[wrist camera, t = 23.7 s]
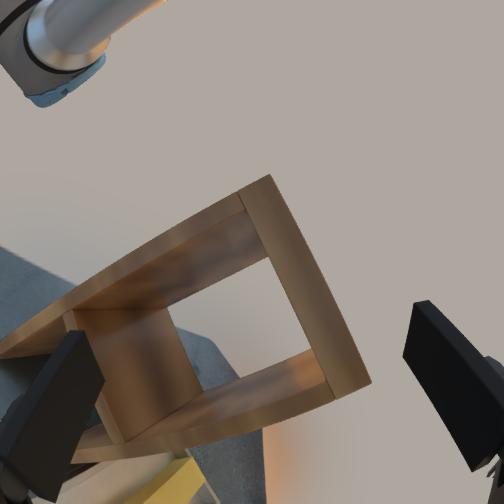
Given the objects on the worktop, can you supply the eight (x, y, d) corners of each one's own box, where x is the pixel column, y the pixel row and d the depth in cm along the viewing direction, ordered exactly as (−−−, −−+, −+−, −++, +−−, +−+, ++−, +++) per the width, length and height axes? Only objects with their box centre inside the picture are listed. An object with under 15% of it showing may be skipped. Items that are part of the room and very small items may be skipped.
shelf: (33, 464, 18) (372, 383, 13) (-11, 348, 21) (269, 173, 16) (113, 427, 31) (351, 342, 27) (77, 340, 34) (295, 228, 30)
